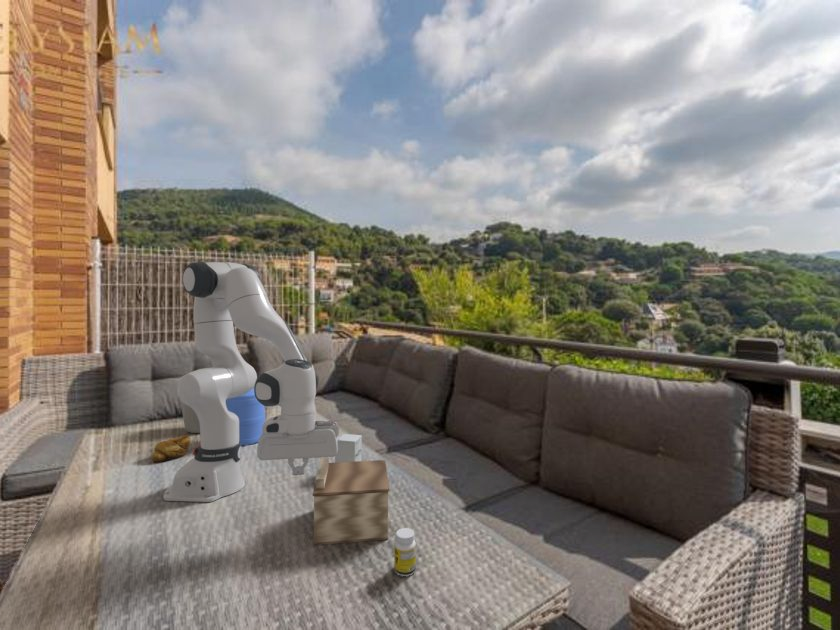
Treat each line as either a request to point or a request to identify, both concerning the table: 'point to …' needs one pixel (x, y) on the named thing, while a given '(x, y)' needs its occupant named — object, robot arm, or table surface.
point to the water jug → (248, 416)
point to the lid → (351, 477)
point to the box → (350, 517)
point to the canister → (190, 419)
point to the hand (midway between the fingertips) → (298, 474)
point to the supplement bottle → (405, 552)
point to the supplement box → (349, 448)
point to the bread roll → (171, 448)
